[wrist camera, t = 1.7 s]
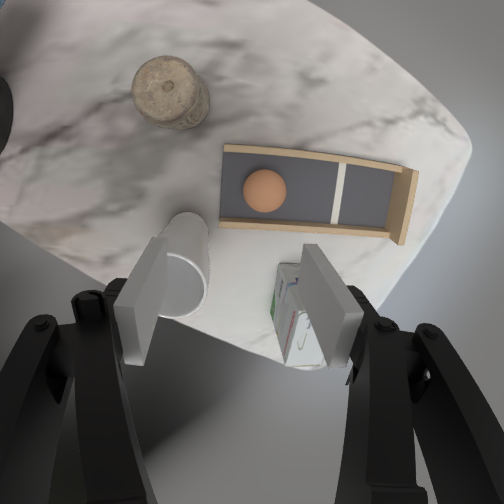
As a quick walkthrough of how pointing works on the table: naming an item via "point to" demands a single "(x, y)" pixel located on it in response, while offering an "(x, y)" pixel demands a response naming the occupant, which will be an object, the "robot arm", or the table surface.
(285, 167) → the lane
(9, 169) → the table surface
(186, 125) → the carving
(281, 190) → the ball
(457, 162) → the table surface
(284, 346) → the ink box
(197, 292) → the drinking glass
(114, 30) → the table surface
